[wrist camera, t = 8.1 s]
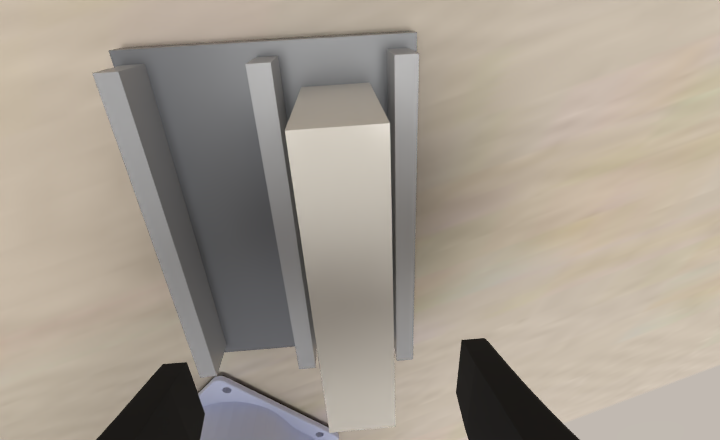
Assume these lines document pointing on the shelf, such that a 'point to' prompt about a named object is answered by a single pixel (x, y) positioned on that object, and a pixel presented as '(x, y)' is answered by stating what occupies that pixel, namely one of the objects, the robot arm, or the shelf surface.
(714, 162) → the shelf surface
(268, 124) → the ridged grey tray
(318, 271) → the long beige block
